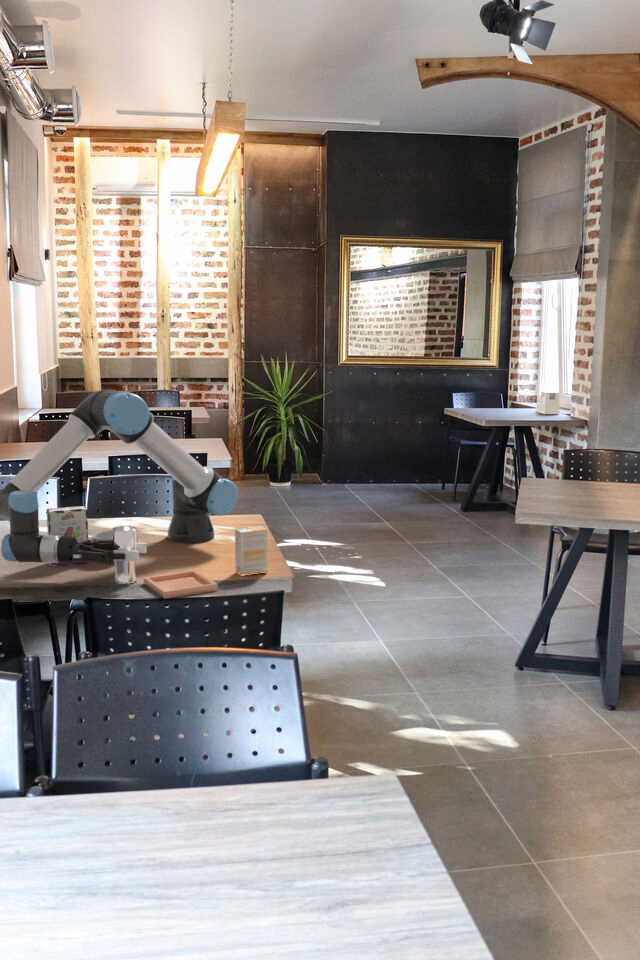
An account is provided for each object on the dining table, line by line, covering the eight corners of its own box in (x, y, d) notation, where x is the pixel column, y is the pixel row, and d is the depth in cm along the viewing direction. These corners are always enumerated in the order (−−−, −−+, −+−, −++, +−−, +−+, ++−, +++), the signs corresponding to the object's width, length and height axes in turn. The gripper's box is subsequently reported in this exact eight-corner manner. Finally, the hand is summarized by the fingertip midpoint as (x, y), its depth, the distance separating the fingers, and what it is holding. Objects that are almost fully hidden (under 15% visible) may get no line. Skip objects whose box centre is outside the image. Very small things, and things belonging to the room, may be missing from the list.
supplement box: (261, 569, 261) (261, 525, 259) (267, 573, 257) (268, 529, 255) (234, 572, 258) (234, 528, 255) (240, 577, 253) (240, 531, 251)
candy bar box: (86, 559, 269) (85, 505, 266) (89, 563, 265) (88, 508, 262) (48, 562, 265) (46, 507, 262) (50, 566, 260) (48, 511, 257)
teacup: (120, 565, 263) (119, 539, 262) (85, 563, 265) (84, 536, 264) (139, 553, 276) (138, 528, 275) (106, 551, 278) (105, 526, 277)
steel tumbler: (116, 586, 243) (115, 532, 240) (109, 579, 249) (108, 526, 246) (141, 583, 246) (140, 529, 243) (134, 576, 252) (133, 524, 249)
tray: (194, 576, 253) (194, 570, 253) (217, 590, 240) (217, 584, 240) (143, 583, 245) (143, 577, 245) (164, 598, 233) (164, 592, 232)
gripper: (73, 553, 258) (151, 555, 256) (47, 573, 237) (132, 575, 236) (72, 527, 256) (151, 529, 255) (45, 545, 236) (131, 548, 235)
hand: (142, 551), depth 245 cm, fingers open, 8 cm apart
